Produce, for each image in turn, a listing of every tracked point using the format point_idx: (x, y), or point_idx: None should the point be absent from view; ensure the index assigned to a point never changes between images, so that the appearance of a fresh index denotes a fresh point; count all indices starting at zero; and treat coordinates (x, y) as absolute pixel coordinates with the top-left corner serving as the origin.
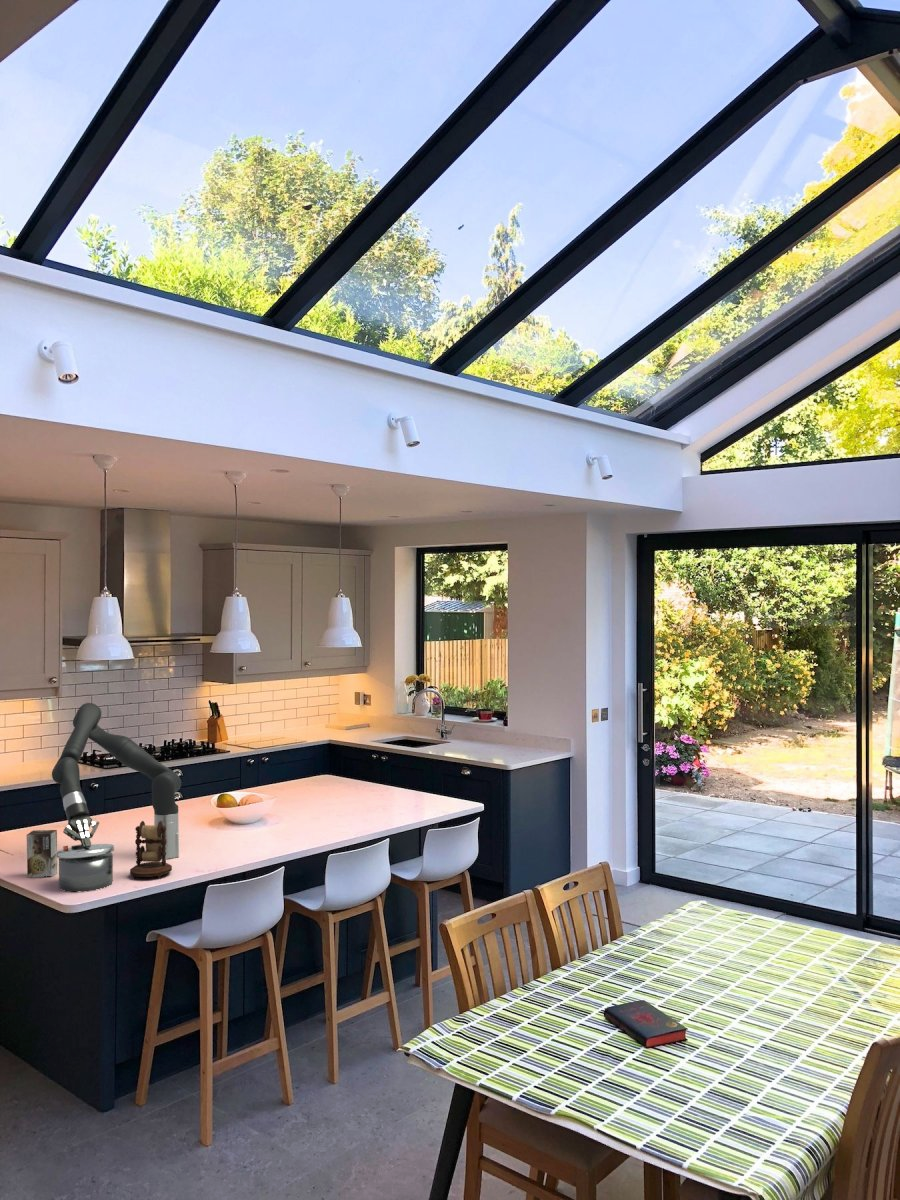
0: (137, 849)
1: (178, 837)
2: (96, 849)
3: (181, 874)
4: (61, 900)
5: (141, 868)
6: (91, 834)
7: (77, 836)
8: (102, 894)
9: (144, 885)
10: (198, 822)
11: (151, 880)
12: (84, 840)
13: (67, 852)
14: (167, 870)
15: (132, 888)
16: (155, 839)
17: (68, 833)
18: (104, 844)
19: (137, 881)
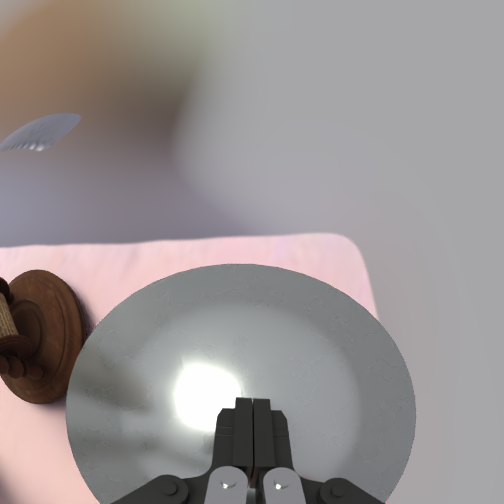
0: (4, 360)
1: None
2: (211, 337)
3: (9, 274)
4: (367, 287)
5: (52, 328)
6: (183, 479)
7: (338, 483)
8: (247, 257)
9: (109, 252)
10: None
11: (69, 285)
12: (273, 443)
13: (376, 425)
14: (22, 274)
15: (148, 250)
16: None
17: None
18: (94, 472)
19: (96, 310)
